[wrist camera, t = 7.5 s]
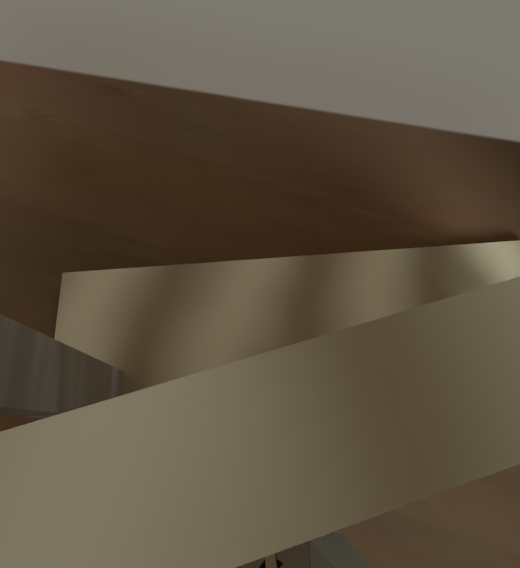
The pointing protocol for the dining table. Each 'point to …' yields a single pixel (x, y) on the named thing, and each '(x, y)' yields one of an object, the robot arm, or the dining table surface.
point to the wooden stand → (219, 316)
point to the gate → (270, 444)
